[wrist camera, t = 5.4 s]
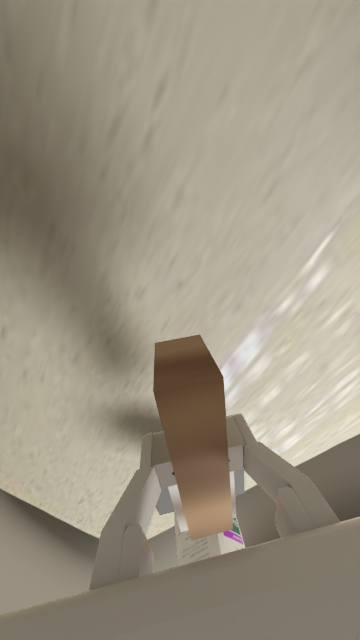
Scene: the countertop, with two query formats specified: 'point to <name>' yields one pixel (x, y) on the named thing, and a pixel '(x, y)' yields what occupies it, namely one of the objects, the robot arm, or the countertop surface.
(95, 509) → the countertop surface
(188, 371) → the tan wooden bar
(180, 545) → the syrup box
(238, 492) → the mat
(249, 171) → the countertop surface
